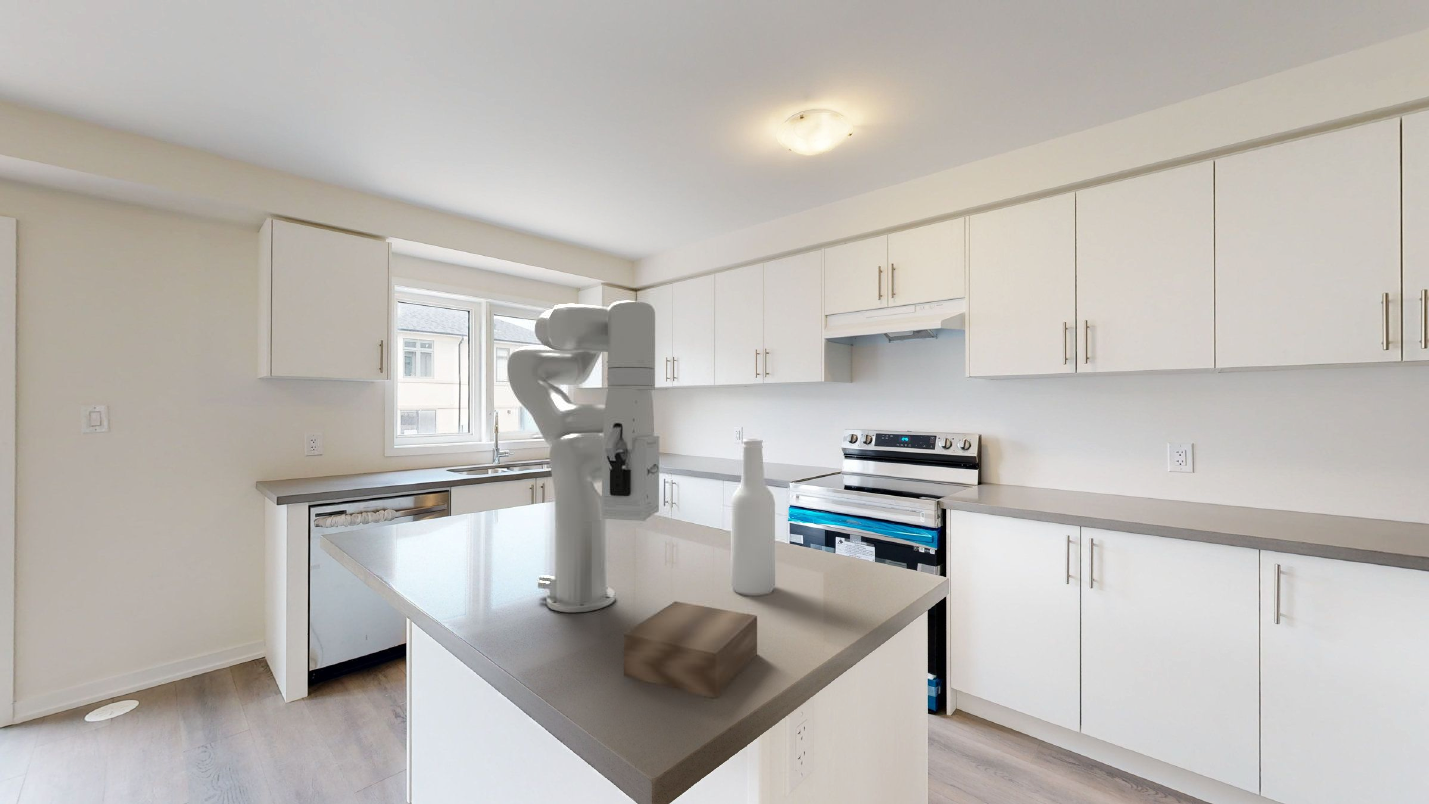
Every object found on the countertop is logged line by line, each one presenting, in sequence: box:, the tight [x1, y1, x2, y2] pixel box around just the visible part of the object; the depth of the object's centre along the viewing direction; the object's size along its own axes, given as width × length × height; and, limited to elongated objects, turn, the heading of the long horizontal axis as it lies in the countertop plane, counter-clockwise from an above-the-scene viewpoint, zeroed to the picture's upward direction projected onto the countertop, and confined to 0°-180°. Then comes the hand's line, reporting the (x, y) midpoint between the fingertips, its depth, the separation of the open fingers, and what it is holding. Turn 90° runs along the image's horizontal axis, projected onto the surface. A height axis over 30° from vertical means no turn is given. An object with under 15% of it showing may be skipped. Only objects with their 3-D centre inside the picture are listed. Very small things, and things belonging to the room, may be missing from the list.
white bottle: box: [730, 438, 776, 597], centre depth 112 cm, size 9×9×30 cm
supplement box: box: [601, 435, 660, 522], centre depth 89 cm, size 7×7×13 cm
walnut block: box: [623, 601, 758, 700], centre depth 80 cm, size 14×14×6 cm
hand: (631, 490), depth 89 cm, fingers closed on supplement box, 7 cm apart
